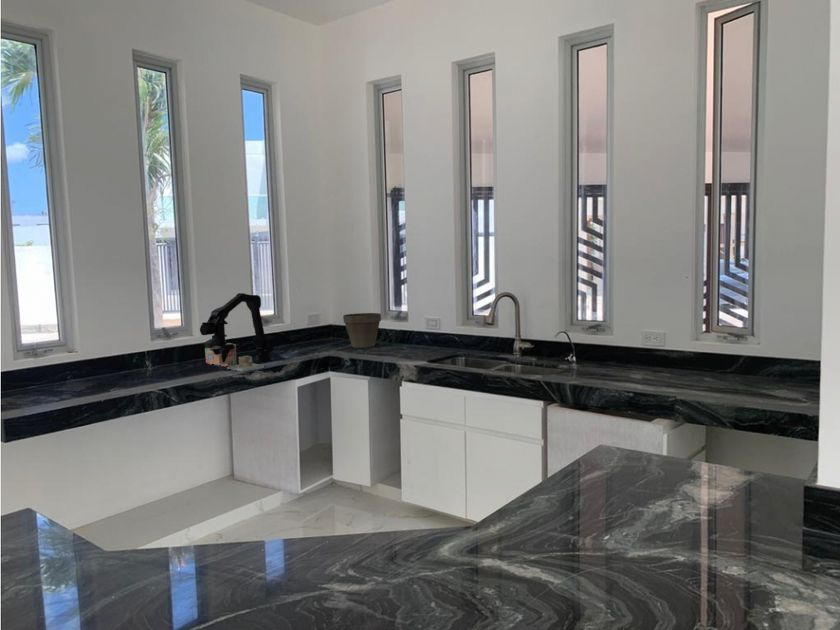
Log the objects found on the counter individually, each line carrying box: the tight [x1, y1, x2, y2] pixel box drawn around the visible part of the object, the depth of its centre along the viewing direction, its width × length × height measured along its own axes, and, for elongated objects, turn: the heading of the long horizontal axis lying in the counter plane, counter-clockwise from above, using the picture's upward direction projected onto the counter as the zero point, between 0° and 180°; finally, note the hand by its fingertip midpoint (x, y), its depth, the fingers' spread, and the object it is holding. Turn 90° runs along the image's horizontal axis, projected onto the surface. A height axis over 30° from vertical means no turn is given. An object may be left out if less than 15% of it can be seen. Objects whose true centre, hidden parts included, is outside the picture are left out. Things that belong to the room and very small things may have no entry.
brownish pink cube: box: [214, 354, 228, 366], centre depth 361 cm, size 5×5×5 cm
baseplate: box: [226, 362, 265, 373], centre depth 365 cm, size 14×14×2 cm
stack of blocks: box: [204, 342, 238, 367], centre depth 382 cm, size 21×6×12 cm, turn 52°
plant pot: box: [343, 312, 382, 349], centre depth 438 cm, size 25×25×22 cm
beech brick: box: [238, 355, 253, 367], centre depth 365 cm, size 5×5×5 cm
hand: (220, 361), depth 361 cm, fingers closed on brownish pink cube, 5 cm apart
